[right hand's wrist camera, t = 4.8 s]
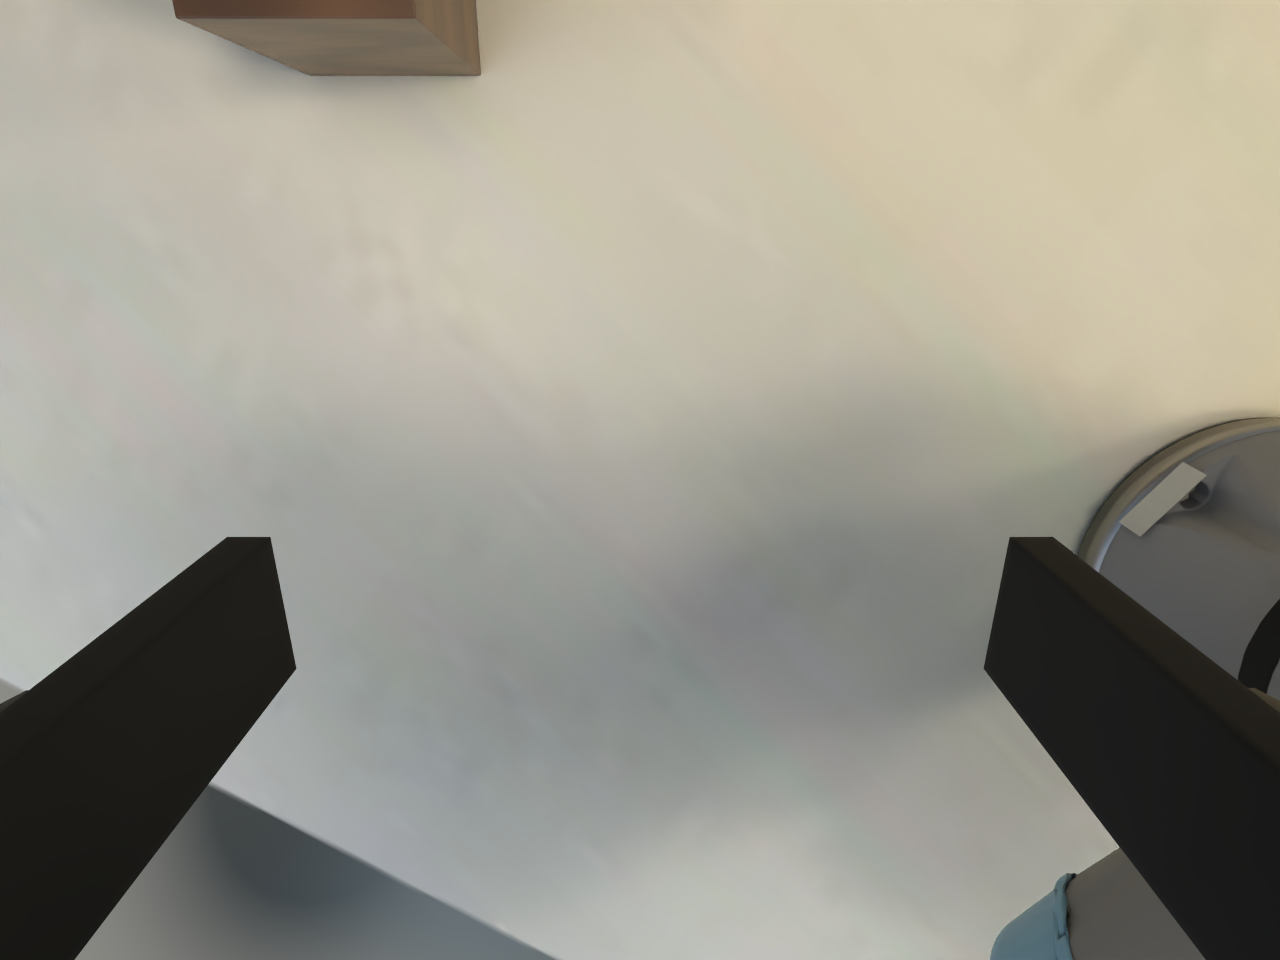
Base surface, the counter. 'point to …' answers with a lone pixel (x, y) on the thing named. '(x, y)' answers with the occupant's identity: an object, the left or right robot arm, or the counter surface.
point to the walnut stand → (348, 34)
